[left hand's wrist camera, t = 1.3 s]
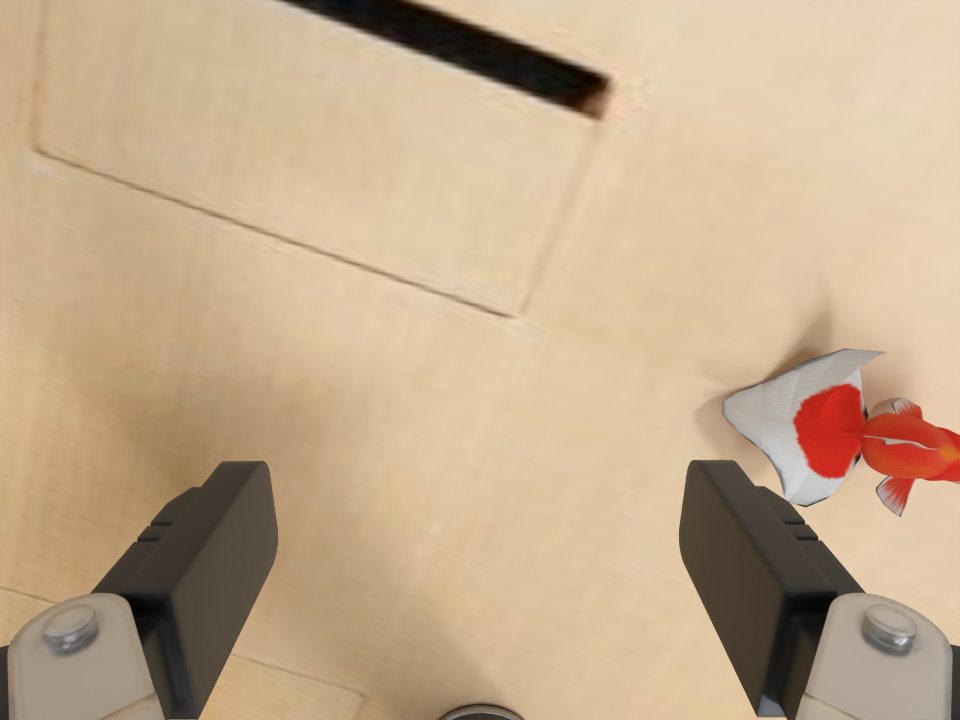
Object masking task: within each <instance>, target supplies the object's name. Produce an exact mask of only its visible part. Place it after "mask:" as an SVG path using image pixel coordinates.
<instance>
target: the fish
mask: <svg viewBox="0 0 960 720" xmlns="http://www.w3.org/2000/svg"><path fill="white" fill-rule="evenodd" d="M883 353H886V352H879V351H868V350H856V349H842V350H839V351H836V352H833V353H830V354H827V355H824V356H820V357H817V358H814V359H811V360H808V361H805V362H803V363H801V364H799V365H798V366H796V367H794V368H792V369H790V370H788V371H786V372H784V373H782V374H780V375H778V376H776V377H774V378H772V379H770V380H768V381H766V382H764V383H762V384H759V385H756V386H752V387H749V388H746V389H744V390H741V391H739V392H737V393H735V394H733V395H731V396H729V397H728V398H726V399H725V400H724V401H723V402H722V411H723V416H724V417H725V418H726V419H727V421H728V422H729V423H730V424H731V425H732V426H733V427H734V428H735V429H736V430H737V431H738V432H739V433H741V434H742V435H743V436H744V437H745V438H746V439H748V440H749V441H750V442H751V443H753V444H754V445H755V446H757V447H758V448H759V449H761V450H762V451H763V453H764V454H765V455H766V456H767V457H768V459H769V460H770V461H771V462H772V464H773V466H774V468H775V470H776V472H777V474H778V476H779V478H780V481H781V484H782V488H783V492H784V496H785V499H786V501H788V502H789V503H793V504H796V505H800V506H803V507H808V506H810V505H813V504H815V503H817V502H820V501H822V500H824V499H827V498H828V497H829V496H830V495H831V494H832V493H833V492H834V491H835V490H836V489H838V487H839V486H840V485H841V483H842V482H843V481H844V480H845V478H846V477H847V476H848V474H849V473H850V471H851V470H852V469H853V467H854V466H855V464H856V463H857V462H858V460H859V459H860V457H861V452H862V455H863V457H864V459H865V461H866V463H867V464H868V465H869V466H870V467H871V468H872V469H874V470H876V471H877V472H879V473H882V474H884V475H887V476H888V477H887V478H885V479H884V480H883V481H882V482H881V483H880V484H879V485H878V486H877V487H876V492H877V494H878V496H879V498H880V499H881V501H882V502H883V504H884V505H885V506H886V507H887V508H889V509H890V510H891V511H892V512H893V513H894V514H896V515H898V516H900V517H901V514H902V512H903V510H904V508H905V505H906V503H907V499H908V496H909V494H910V491H911V488H912V485H913V483H914V481H915V479H920V478H923V479H925V480H929V481H939V480H945V481H951V482H954V483H957V484H960V435H958V434H956V433H954V432H952V431H950V430H948V429H945V428H940V427H935V426H933V425H932V424H930V423H928V422H926V421H923V415H922V410H921V408H920V407H919V406H917V405H915V404H913V403H912V402H911V401H909V400H908V399H906V398H902V399H898V400H896V401H895V402H893V404H892V407H893V408H894V410H895V412H896V414H893V413H888V414H881V415H878V416H876V417H874V418H872V419H871V420H869V421H868V422H867V423H866V421H867V418H868V413H867V409H866V405H865V401H864V398H863V394H862V378H861V369H860V368H861V366H862V365H864V364H865V363H867V362H868V361H870V360H871V359H873V358H875V357H877V356H878V355H881V354H883Z"/></svg>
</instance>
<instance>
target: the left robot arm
mask: <svg viewBox="0 0 960 720" xmlns="http://www.w3.org/2000/svg"><path fill="white" fill-rule="evenodd" d="M679 545H680V552H681V556H682V560H683V562H684V565H685V567H686V569H687V571H688V573H689V575H690V577H691V579H692V582H693V584H694V586H695V588H696V590H697V592H698V594H699V596H700V598H701V600H702V603H703V605H704V607H705V609H706V611H707V613H708V615H709V617H710V619H711V621H712V623H713V626H714V628H715V630H716V632H717V634H718V636H719V638H720V640H721V642H722V644H723V646H724V649H725V651H726V653H727V655H728V657H729V659H730V661H731V663H732V665H733V667H734V669H735V672H736V674H737V676H738V678H739V680H740V682H741V684H742V686H743V688H744V690H745V692H746V695H747V697H748V699H749V701H750V703H751V705H752V707H753V709H754V711H755V713H756V715H757V717H786V718H787V720H960V646H955V645H951V644H950V643H949V641H948V640H947V638H946V637H945V635H944V634H943V633H942V632H941V630H940V629H939V628H938V627H937V626H936V625H935V624H933V623H932V622H931V621H930V620H929V619H927V618H926V617H925V616H923V615H922V614H920V613H919V612H917V611H915V610H914V609H912V608H910V607H908V606H906V605H904V604H902V603H899V602H897V601H894V600H892V599H889V598H886V597H882V596H878V595H874V594H867V593H865V591H864V590H863V589H862V588H861V587H860V585H859V584H858V583H857V582H856V581H855V580H854V578H853V577H852V576H851V575H850V574H849V572H848V571H847V570H846V569H845V568H844V567H843V565H842V564H841V563H840V562H839V561H838V559H837V558H836V557H835V556H834V555H833V554H832V552H831V551H830V550H829V549H828V548H827V546H826V545H825V544H824V543H823V542H822V541H819V540H818V536H817V535H816V533H815V532H814V531H813V530H812V529H811V528H810V526H809V525H805V520H804V519H803V518H802V517H801V516H800V515H799V513H798V512H797V511H796V510H795V509H794V507H793V506H792V505H791V504H790V503H789V502H788V501H786V500H785V499H783V498H782V497H780V496H779V495H777V494H776V493H774V492H772V491H771V490H769V489H768V488H766V487H765V486H755V485H754V484H753V483H752V482H751V480H750V479H749V478H748V477H747V475H746V474H745V473H744V471H743V470H742V469H741V468H740V466H739V465H738V464H737V463H736V462H735V461H734V460H692V461H691V462H690V464H689V466H688V470H687V476H686V483H685V490H684V498H683V505H682V512H681V520H680V527H679ZM277 546H278V528H277V521H276V514H275V507H274V500H273V492H272V485H271V478H270V472H269V468H268V465H267V464H266V462H264V461H223V462H221V463H220V464H219V465H218V467H217V468H216V469H215V470H214V472H213V473H212V474H211V476H210V477H209V478H208V479H207V481H206V482H205V483H204V484H203V486H202V487H192V488H190V489H189V490H187V491H186V492H184V493H183V494H181V495H179V496H178V497H176V498H175V499H173V500H172V501H170V502H169V503H167V504H166V505H165V506H164V508H163V509H162V510H161V511H160V512H159V514H158V515H157V516H156V517H155V518H154V519H153V521H152V522H151V526H147V528H146V529H145V530H144V531H143V532H142V533H141V535H140V536H139V537H138V541H137V542H134V543H133V544H132V545H131V546H130V547H129V549H128V550H127V551H126V552H125V553H124V555H123V556H122V557H121V558H120V559H119V560H118V562H117V563H116V564H115V565H114V566H113V567H112V569H111V570H110V571H109V572H108V573H107V574H106V576H105V577H104V578H103V579H102V580H101V581H100V583H99V584H98V585H97V586H96V587H95V588H94V590H93V591H92V592H91V593H90V594H86V595H82V596H78V597H74V598H71V599H68V600H66V601H63V602H61V603H58V604H56V605H54V606H52V607H50V608H48V609H46V610H45V611H43V612H41V613H40V614H38V615H37V616H35V617H34V618H33V619H31V620H30V621H29V622H28V623H27V624H25V625H24V626H23V627H22V628H21V629H20V630H19V632H18V633H17V634H16V635H15V637H14V638H13V640H12V641H11V643H10V645H8V646H4V647H0V720H169V719H199V717H200V715H201V713H202V711H203V708H204V706H205V704H206V702H207V700H208V698H209V696H210V694H211V692H212V690H213V688H214V686H215V684H216V682H217V680H218V677H219V675H220V673H221V671H222V669H223V667H224V665H225V663H226V661H227V659H228V657H229V655H230V653H231V651H232V649H233V646H234V644H235V642H236V640H237V638H238V636H239V634H240V632H241V630H242V628H243V626H244V624H245V622H246V620H247V618H248V615H249V613H250V611H251V609H252V607H253V605H254V603H255V601H256V599H257V597H258V595H259V593H260V591H261V589H262V587H263V584H264V582H265V580H266V578H267V576H268V574H269V572H270V570H271V568H272V566H273V563H274V561H275V557H276V552H277ZM441 720H522V719H521V718H520V717H519V716H517V715H516V714H514V713H512V712H510V711H508V710H505V709H502V708H499V707H494V706H486V705H477V706H469V707H464V708H461V709H458V710H455V711H453V712H451V713H449V714H447V715H446V716H444V717H443V718H442V719H441Z"/></svg>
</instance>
